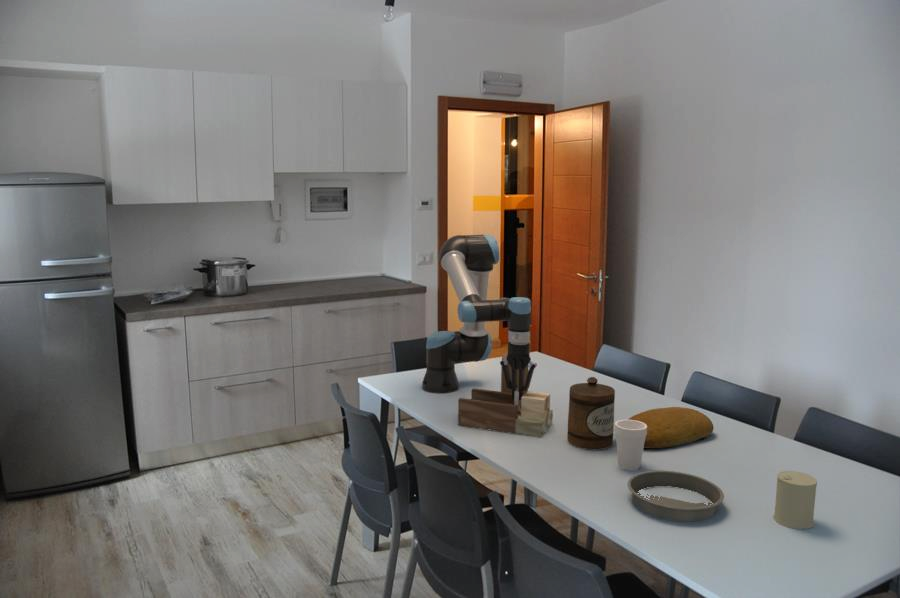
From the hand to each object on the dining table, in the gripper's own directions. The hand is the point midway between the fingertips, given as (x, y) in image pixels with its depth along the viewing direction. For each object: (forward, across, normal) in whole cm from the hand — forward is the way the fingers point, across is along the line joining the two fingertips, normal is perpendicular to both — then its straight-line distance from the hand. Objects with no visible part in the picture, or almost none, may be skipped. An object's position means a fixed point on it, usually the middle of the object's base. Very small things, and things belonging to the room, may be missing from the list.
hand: (517, 408), depth 250 cm
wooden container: (+7, +27, -5) cm, 28 cm away
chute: (+7, -4, 0) cm, 8 cm away
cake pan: (+7, +57, -42) cm, 71 cm away
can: (+7, +86, -41) cm, 95 cm away
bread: (+7, +49, +10) cm, 51 cm away
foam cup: (+7, +42, -21) cm, 47 cm away
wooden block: (+7, -7, +20) cm, 23 cm away
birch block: (+2, +7, 0) cm, 7 cm away
